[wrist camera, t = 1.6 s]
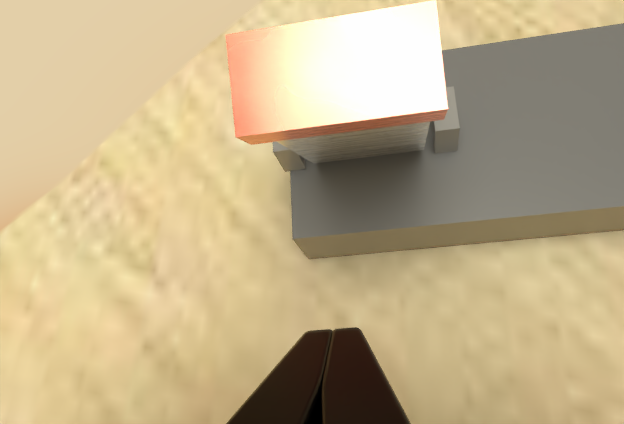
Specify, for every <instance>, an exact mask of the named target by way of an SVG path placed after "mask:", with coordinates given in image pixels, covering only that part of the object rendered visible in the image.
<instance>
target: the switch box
mask: <svg viewBox="0 0 624 424" xmlns="http://www.w3.org/2000/svg"><path fill="white" fill-rule="evenodd" d="M442 59H443V68H444V78H445V87H446V96H447V105H448V110H447V113H446V116H445V119H444V120H437V121H430V124H429V129H428V133H427V138H426V142H425V147H424V150H421V151H413V152H404V153H396V154H388V155H380V156H371V157H363V158H355V159H347V160H338V161H330V162H322V163H312V162H310V161H308V160H307V159H305V158H303V157H302V156H300V155H298V154H297V153H295V152H293V151H292V150H290V149H288V148H287V147H285V146H283V145H282V144H280V143H278V142H276V141H275V142H273V152H274V154H275V156H276V157H277V159H278V161H279V162H280V164H281V166H282V167H283V169H284V170H285V172H286V171H290V176H291V206H292V236H293V240H294V241H295V243H296V244H297V245H298V246H299V247H300V249H301V250H302V251H303V252H304V254H305V255H306V256H307V257H308V258H309V259H313V258H324V257H335V256H346V255H356V254H367V253H378V252H389V251H400V250H411V249H421V248H432V247H443V246H454V245H465V244H476V243H486V242H497V241H508V240H519V239H530V238H540V237H551V236H562V235H573V234H584V233H595V232H605V231H616V230H624V23H623V24H617V25H610V26H603V27H597V28H590V29H583V30H577V31H570V32H563V33H557V34H550V35H543V36H537V37H530V38H523V39H517V40H510V41H503V42H497V43H490V44H483V45H477V46H470V47H463V48H457V49H450V50H443V51H442Z"/></svg>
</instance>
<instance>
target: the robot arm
mask: <svg viewBox="0 0 624 424" xmlns="http://www.w3.org/2000/svg"><path fill="white" fill-rule="evenodd" d="M226 424H411V423H410V421H409V419H408V417H407V415H406V414H405V412H404V410H403V408H402V406H401V404H400V402H399V400H398V399H397V397H396V395H395V393H394V391H393V389H392V387H391V385H390V384H389V382H388V380H387V378H386V376H385V374H384V372H383V370H382V369H381V367H380V365H379V363H378V361H377V359H376V357H375V355H374V354H373V352H372V350H371V348H370V346H369V344H368V342H367V340H366V338H365V337H364V335H363V333H362V331H361V330H360V329H359V328H342V329H335V330H334V331H332V330H329V329H328V330H314V331H307V332H306V333H304V334H303V336H302V337H301V338H300V339H299V340H298V341H297V342H296V344H295V345H294V346H293V347H292V348H291V349H290V351H289V352H288V353H287V354H286V355H285V356H284V358H283V359H282V360H281V361H280V362H279V363H278V364H277V366H276V367H275V368H274V369H273V370H272V371H271V373H270V374H269V375H268V376H267V377H266V378H265V379H264V381H263V382H262V383H261V384H260V385H259V386H258V388H257V389H256V390H255V391H254V392H253V393H252V394H251V396H250V397H249V398H248V399H247V400H246V401H245V403H244V404H243V405H242V406H241V407H240V408H239V410H238V411H237V412H236V413H235V414H234V415H233V416H232V418H231V419H230V420H229V421H228V422H227V423H226Z"/></svg>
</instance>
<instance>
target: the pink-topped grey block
mask: <svg viewBox="0 0 624 424" xmlns="http://www.w3.org/2000/svg"><path fill="white" fill-rule="evenodd" d="M226 43H227V53H228V64H229V74H230V84H231V95H232V105H233V115H234V125H235V136H236V138H239V139H241V140H243V141H245V142H247V143H249V144H251V145H252V144H260V143H268V142H275V141H276V142H278V143H280V144H282V145H283V146H285V147H287V148H288V149H290V150H292V151H293V152H295V153H297V154H298V155H300V156H302V157H303V158H305V159H307V160H308V161H310V162H312V163H322V162H330V161H338V160H347V159H355V158H363V157H371V156H380V155H388V154H396V153H404V152H413V151H421V150H424V147H425V142H426V138H427V133H428V129H429V124H430V121H437V120H444V119H445V116H446V113H447V110H448V105H447V96H446V87H445V78H444V68H443V59H442V50H441V41H440V32H439V23H438V14H437V4H436V0H433V1H427V2H421V3H415V4H409V5H403V6H397V7H391V8H385V9H379V10H373V11H367V12H361V13H355V14H348V15H342V16H336V17H330V18H324V19H318V20H312V21H306V22H300V23H294V24H288V25H282V26H276V27H270V28H264V29H258V30H252V31H245V32H239V33H233V34H227V35H226Z"/></svg>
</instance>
